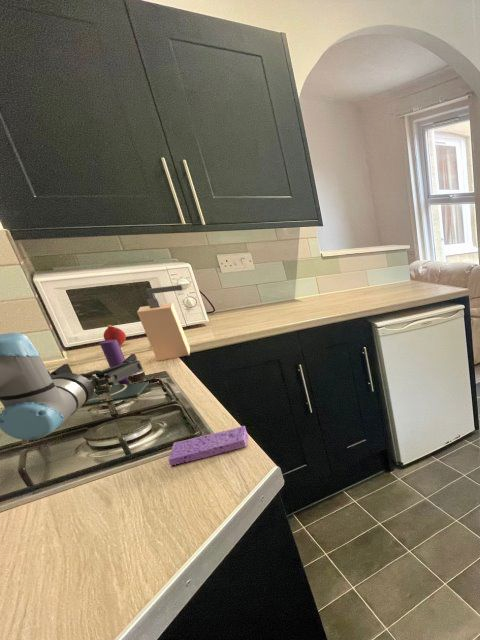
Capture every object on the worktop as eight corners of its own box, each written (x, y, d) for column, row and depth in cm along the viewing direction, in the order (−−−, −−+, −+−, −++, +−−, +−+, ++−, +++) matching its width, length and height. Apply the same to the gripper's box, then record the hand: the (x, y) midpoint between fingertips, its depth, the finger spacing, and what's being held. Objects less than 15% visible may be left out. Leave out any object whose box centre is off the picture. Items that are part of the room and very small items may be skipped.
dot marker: (115, 385, 115) (97, 344, 110) (120, 381, 118) (102, 340, 114) (131, 383, 116) (114, 341, 112) (135, 379, 119) (119, 338, 115)
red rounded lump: (125, 342, 156) (116, 321, 153) (132, 344, 153) (122, 323, 150) (106, 347, 152) (96, 326, 148) (112, 349, 149) (102, 327, 146)
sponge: (246, 447, 83) (243, 439, 83) (169, 467, 78) (165, 459, 77) (248, 432, 89) (245, 424, 88) (176, 450, 84) (172, 442, 83)
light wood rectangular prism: (157, 361, 135) (128, 293, 126) (159, 354, 141) (132, 289, 132) (204, 352, 141) (180, 286, 132) (204, 346, 148) (181, 283, 139)
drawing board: (37, 414, 102) (35, 412, 102) (66, 391, 114) (65, 389, 114) (138, 396, 109) (137, 394, 109) (155, 377, 122) (154, 374, 122)
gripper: (-6, 423, 87) (46, 387, 105) (141, 397, 96) (166, 367, 114) (-26, 391, 84) (31, 359, 102) (128, 366, 93) (155, 341, 111)
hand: (102, 363), depth 108 cm, fingers open, 13 cm apart
